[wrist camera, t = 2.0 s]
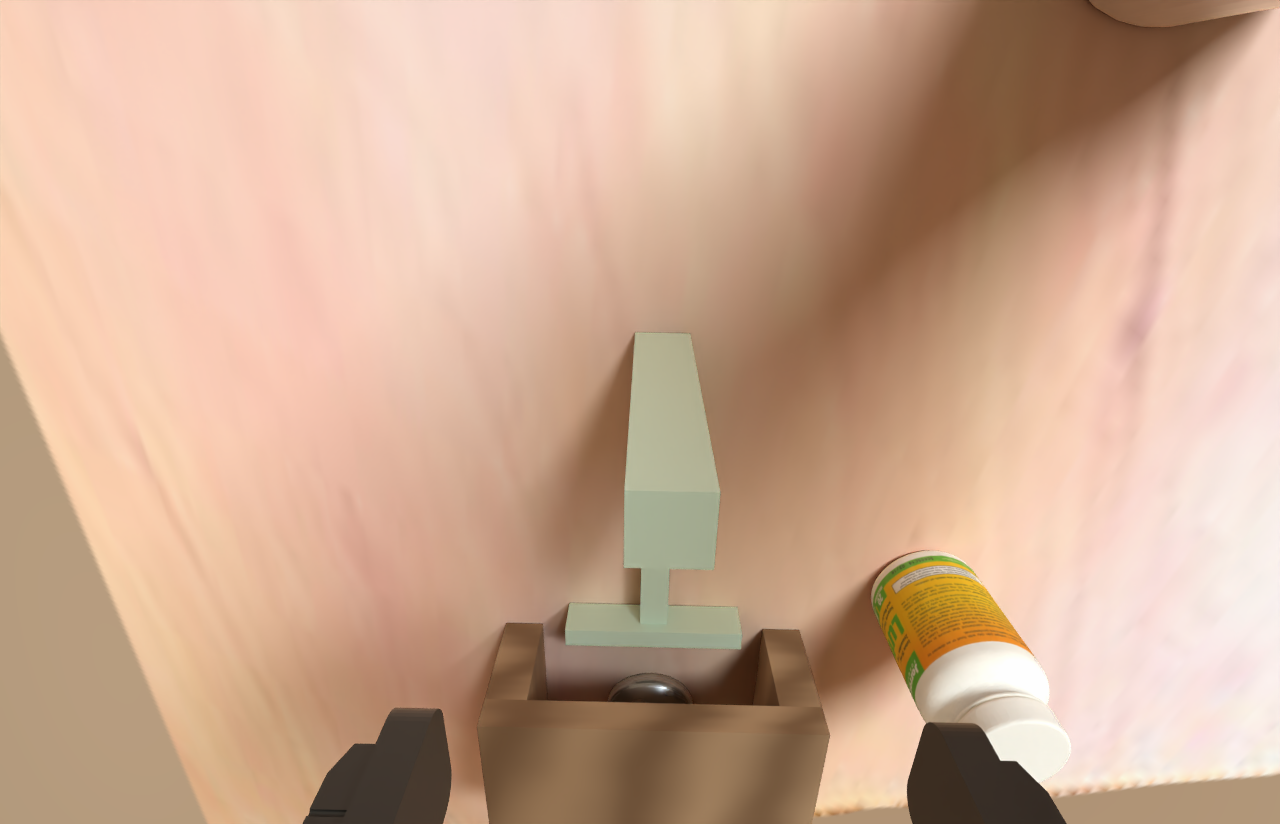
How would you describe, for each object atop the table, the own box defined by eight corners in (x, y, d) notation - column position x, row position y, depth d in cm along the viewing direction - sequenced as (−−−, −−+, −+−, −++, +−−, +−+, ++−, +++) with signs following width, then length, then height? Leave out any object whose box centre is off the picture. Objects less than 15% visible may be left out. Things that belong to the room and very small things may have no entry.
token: (693, 670, 36) (695, 687, 35) (690, 731, 38) (691, 749, 37) (606, 668, 36) (605, 685, 35) (608, 729, 38) (607, 747, 37)
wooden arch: (799, 630, 35) (830, 735, 29) (781, 743, 38) (804, 857, 32) (506, 623, 35) (476, 726, 29) (516, 737, 38) (492, 849, 32)
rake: (766, 335, 28) (852, 495, 16) (735, 621, 34) (780, 883, 23) (559, 330, 28) (492, 487, 16) (570, 617, 34) (528, 877, 23)
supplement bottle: (855, 569, 33) (930, 734, 24) (958, 532, 32) (1077, 690, 23) (885, 640, 35) (965, 817, 26) (984, 607, 34) (1102, 780, 25)
